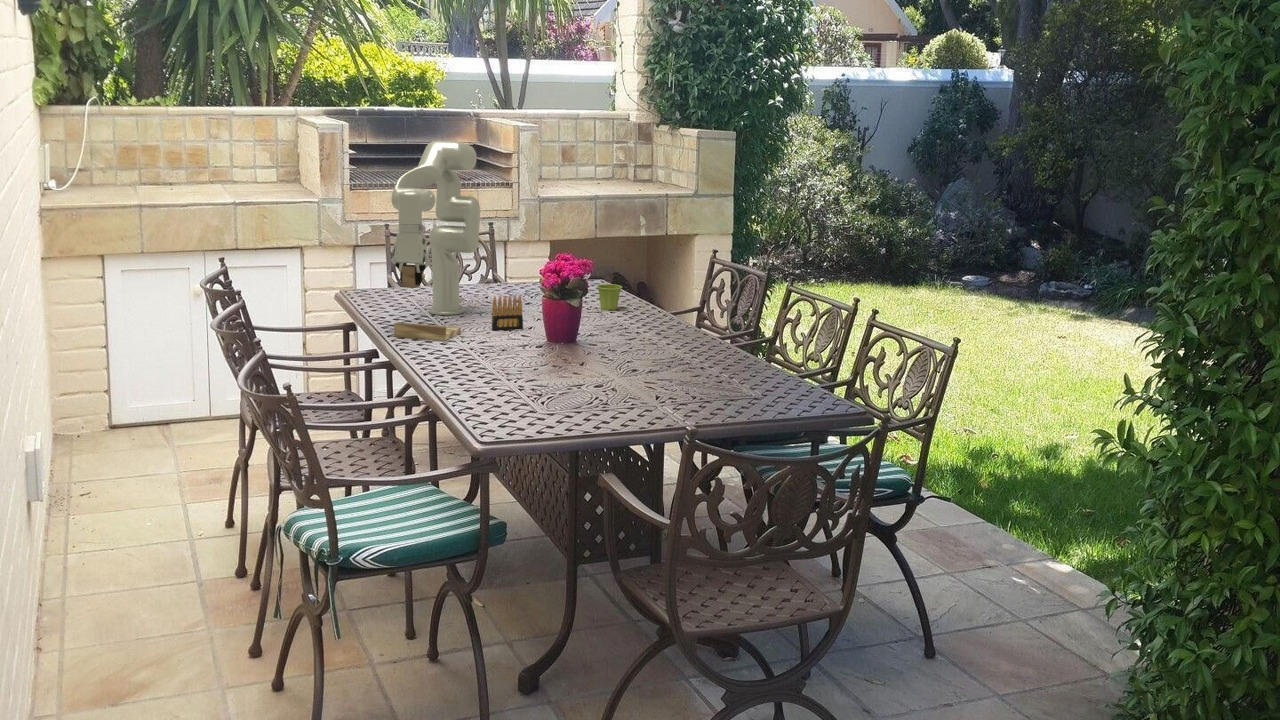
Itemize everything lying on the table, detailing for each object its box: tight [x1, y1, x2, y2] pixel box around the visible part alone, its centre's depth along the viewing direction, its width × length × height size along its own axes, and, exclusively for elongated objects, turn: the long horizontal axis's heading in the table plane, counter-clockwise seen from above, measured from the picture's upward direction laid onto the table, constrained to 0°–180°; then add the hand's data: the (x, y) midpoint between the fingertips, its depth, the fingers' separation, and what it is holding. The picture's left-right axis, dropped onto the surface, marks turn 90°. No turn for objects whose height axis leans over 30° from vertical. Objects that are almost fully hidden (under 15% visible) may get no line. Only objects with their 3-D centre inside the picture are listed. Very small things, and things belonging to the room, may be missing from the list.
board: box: [393, 322, 462, 342], centre depth 425 cm, size 13×18×4 cm
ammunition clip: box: [491, 294, 524, 332], centre depth 436 cm, size 11×2×12 cm, turn 110°
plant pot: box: [596, 283, 623, 311], centre depth 476 cm, size 9×9×9 cm
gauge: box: [401, 263, 426, 289], centre depth 426 cm, size 12×4×7 cm, turn 164°
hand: (411, 283), depth 424 cm, fingers closed on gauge, 4 cm apart
